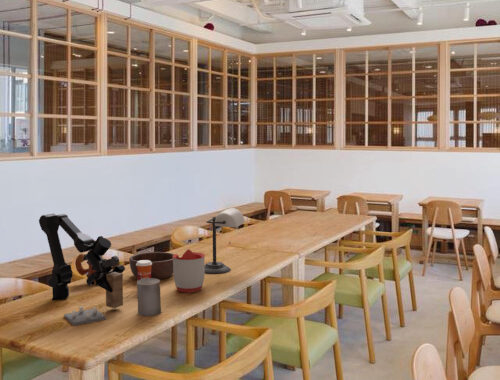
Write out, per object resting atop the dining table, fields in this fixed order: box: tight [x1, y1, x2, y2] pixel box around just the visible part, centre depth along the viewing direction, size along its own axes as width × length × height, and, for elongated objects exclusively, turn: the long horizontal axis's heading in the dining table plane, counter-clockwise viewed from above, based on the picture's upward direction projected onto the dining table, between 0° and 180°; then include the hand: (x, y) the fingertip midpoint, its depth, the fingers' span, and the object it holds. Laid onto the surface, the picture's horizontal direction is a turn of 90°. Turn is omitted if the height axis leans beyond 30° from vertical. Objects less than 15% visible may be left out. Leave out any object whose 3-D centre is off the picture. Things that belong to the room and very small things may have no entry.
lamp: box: [204, 207, 246, 275], centre depth 311 cm, size 26×24×34 cm
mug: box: [74, 253, 96, 285], centre depth 288 cm, size 15×8×15 cm, turn 92°
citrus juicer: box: [172, 248, 206, 294], centre depth 275 cm, size 16×17×20 cm
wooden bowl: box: [128, 251, 175, 280], centre depth 302 cm, size 25×25×10 cm
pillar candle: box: [136, 278, 162, 317], centre depth 240 cm, size 10×10×15 cm
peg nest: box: [64, 306, 107, 326], centre depth 234 cm, size 13×13×4 cm
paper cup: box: [136, 260, 152, 281], centre depth 274 cm, size 8×8×14 cm
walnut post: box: [105, 272, 124, 309], centre depth 244 cm, size 5×5×14 cm
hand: (116, 290), depth 244 cm, fingers closed on walnut post, 5 cm apart
